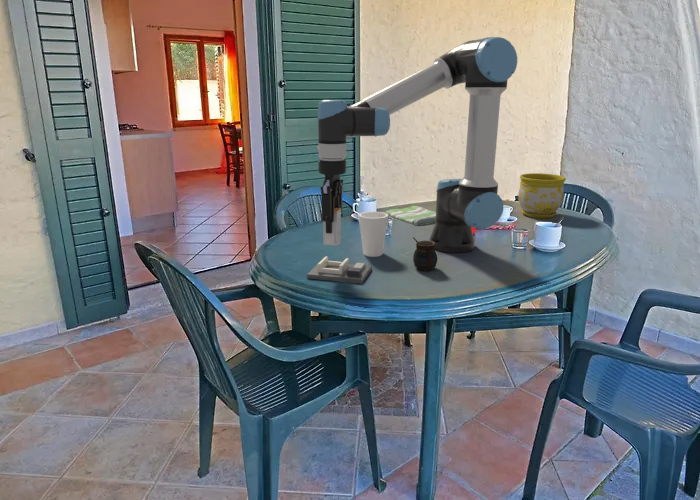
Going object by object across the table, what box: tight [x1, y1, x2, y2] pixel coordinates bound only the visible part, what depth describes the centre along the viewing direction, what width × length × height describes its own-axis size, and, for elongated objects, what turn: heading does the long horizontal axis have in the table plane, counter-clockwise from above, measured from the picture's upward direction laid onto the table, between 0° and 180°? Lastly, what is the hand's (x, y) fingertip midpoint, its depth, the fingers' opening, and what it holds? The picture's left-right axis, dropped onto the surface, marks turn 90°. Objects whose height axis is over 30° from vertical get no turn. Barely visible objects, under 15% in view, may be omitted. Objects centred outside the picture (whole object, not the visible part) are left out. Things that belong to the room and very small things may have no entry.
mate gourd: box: [412, 237, 438, 272], centre depth 151 cm, size 7×8×10 cm
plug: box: [322, 208, 342, 247], centre depth 144 cm, size 4×4×10 cm
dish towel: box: [384, 205, 436, 226], centre depth 213 cm, size 17×23×4 cm
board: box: [306, 256, 373, 284], centre depth 147 cm, size 16×12×4 cm
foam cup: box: [358, 211, 389, 258], centre depth 164 cm, size 10×9×13 cm
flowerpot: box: [517, 172, 567, 219], centre depth 215 cm, size 18×18×16 cm
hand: (332, 241), depth 145 cm, fingers closed on plug, 4 cm apart
